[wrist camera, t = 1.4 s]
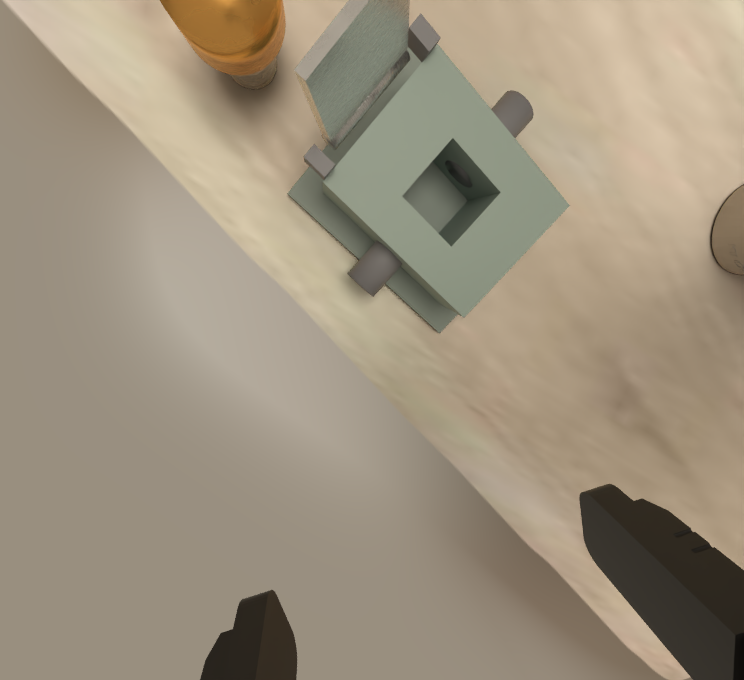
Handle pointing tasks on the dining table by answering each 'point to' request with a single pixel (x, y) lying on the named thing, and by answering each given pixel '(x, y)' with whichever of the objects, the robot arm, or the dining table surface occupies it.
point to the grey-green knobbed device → (432, 187)
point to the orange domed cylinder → (233, 35)
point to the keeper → (354, 64)
